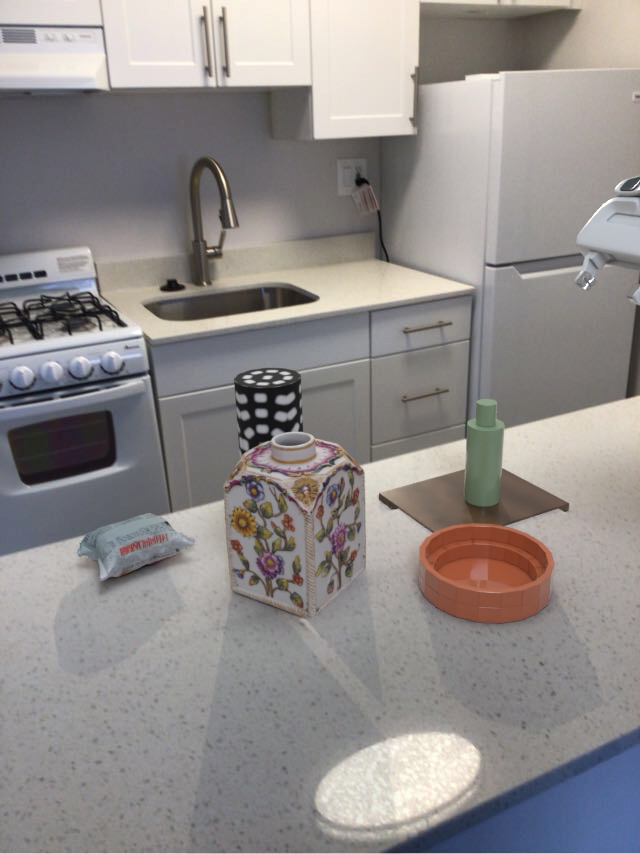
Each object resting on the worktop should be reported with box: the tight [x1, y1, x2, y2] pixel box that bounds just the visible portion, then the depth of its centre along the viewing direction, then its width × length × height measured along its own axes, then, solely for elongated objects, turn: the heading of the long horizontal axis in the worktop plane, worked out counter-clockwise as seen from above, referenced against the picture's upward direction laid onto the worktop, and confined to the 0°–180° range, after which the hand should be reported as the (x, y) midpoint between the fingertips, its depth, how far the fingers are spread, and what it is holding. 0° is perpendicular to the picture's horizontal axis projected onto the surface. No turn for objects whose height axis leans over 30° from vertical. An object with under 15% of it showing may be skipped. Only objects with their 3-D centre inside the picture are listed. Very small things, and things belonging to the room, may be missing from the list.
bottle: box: [464, 398, 506, 507], centre depth 100 cm, size 5×5×14 cm
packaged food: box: [76, 512, 196, 582], centre depth 91 cm, size 9×12×5 cm
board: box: [378, 467, 570, 534], centre depth 103 cm, size 20×16×1 cm
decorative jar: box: [222, 431, 367, 619], centre depth 84 cm, size 12×12×18 cm
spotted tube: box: [233, 367, 304, 459], centre depth 97 cm, size 8×8×20 cm
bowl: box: [418, 523, 556, 624], centre depth 84 cm, size 14×14×4 cm
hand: (605, 294), depth 89 cm, fingers open, 8 cm apart
